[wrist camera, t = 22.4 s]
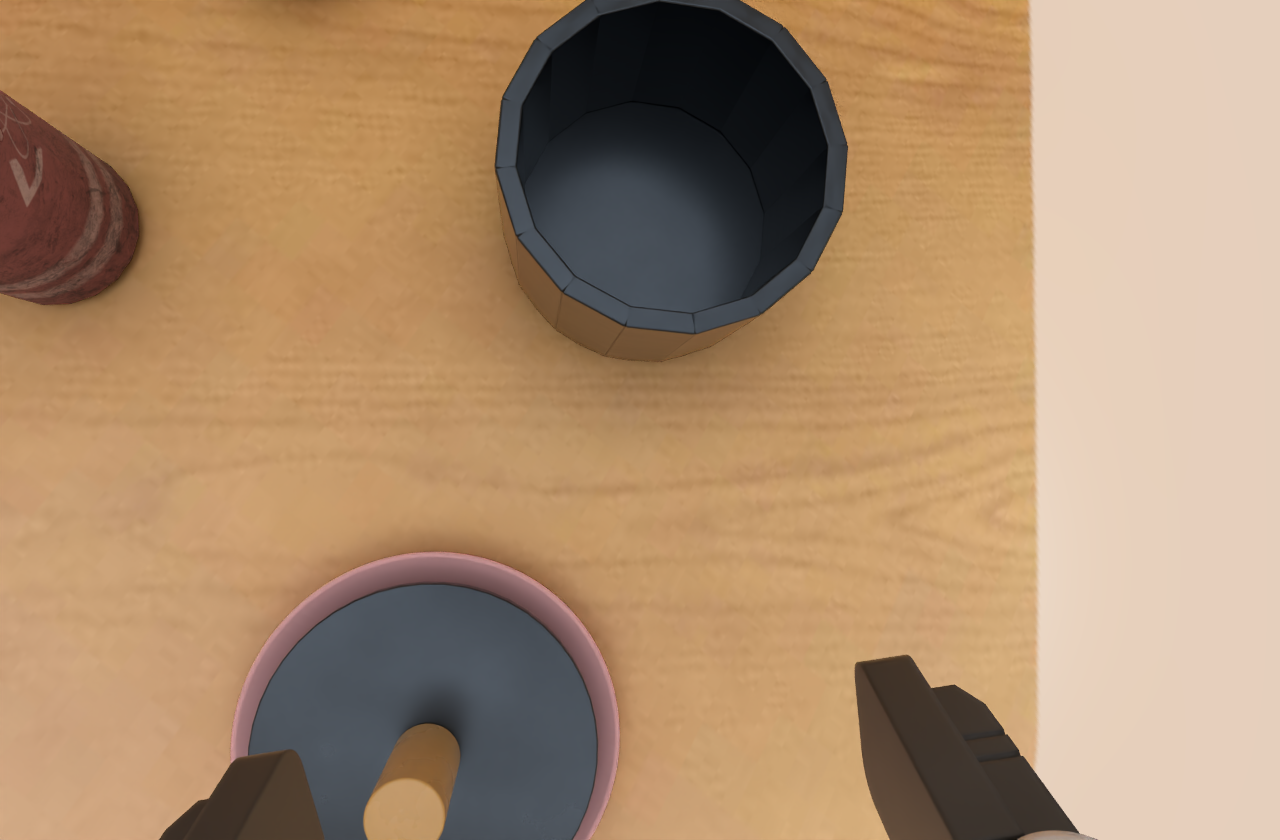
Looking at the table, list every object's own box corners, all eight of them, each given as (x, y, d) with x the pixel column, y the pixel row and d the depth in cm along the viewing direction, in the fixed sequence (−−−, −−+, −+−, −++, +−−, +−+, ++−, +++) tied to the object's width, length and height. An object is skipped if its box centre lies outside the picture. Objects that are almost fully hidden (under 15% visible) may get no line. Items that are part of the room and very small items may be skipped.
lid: (541, 535, 33) (543, 555, 27) (636, 845, 33) (662, 941, 27) (214, 641, 32) (130, 689, 25) (314, 966, 32) (256, 1100, 25)
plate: (614, 900, 35) (620, 927, 33) (243, 923, 33) (225, 953, 31) (615, 544, 36) (620, 549, 34) (251, 548, 34) (233, 554, 32)
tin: (729, 63, 37) (787, -52, 29) (809, 318, 37) (889, 276, 29) (470, 130, 36) (451, 29, 27) (552, 395, 36) (558, 375, 27)
